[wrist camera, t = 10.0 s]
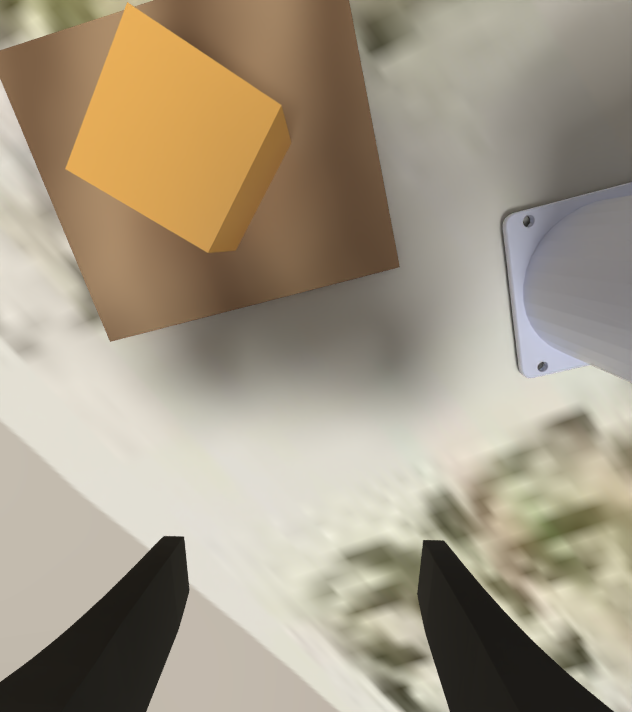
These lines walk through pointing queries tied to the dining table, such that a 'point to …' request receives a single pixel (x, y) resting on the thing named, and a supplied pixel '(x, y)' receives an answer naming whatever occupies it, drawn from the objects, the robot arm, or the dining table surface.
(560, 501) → the dining table surface
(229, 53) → the brown flat block
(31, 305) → the dining table surface
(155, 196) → the mustard tilted cube
